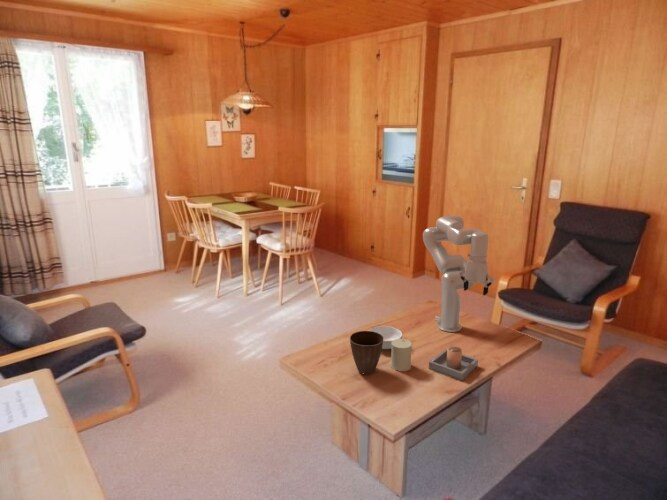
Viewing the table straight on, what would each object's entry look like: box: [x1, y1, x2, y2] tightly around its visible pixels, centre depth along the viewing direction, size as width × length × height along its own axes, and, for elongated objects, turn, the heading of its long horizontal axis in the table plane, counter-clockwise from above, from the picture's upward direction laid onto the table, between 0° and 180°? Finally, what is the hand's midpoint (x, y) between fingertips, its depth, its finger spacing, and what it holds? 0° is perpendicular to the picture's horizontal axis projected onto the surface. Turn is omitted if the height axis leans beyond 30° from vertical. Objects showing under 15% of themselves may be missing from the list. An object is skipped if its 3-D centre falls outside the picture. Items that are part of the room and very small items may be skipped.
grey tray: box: [428, 348, 479, 382], centre depth 204 cm, size 16×16×4 cm
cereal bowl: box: [368, 325, 403, 350], centre depth 225 cm, size 17×17×7 cm
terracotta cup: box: [446, 345, 463, 369], centre depth 204 cm, size 6×6×8 cm
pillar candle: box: [390, 338, 412, 372], centre depth 205 cm, size 9×9×12 cm
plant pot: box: [349, 330, 384, 375], centre depth 201 cm, size 15×15×16 cm
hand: (475, 292), depth 218 cm, fingers open, 9 cm apart
